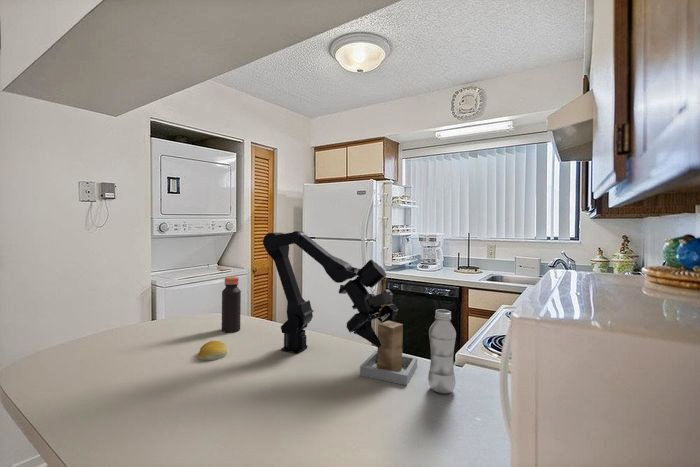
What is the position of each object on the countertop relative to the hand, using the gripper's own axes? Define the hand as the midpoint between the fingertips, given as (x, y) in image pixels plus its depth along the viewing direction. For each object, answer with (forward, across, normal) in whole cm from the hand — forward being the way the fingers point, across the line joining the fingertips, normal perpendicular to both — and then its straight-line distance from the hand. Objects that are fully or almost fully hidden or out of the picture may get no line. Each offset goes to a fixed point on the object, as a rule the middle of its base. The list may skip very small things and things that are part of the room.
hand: (389, 342), depth 95 cm
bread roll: (-26, -28, +39) cm, 55 cm away
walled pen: (+6, 0, +6) cm, 8 cm away
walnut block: (+6, 0, +5) cm, 8 cm away
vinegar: (-39, -12, +52) cm, 66 cm away
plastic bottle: (+17, 0, -6) cm, 18 cm away
